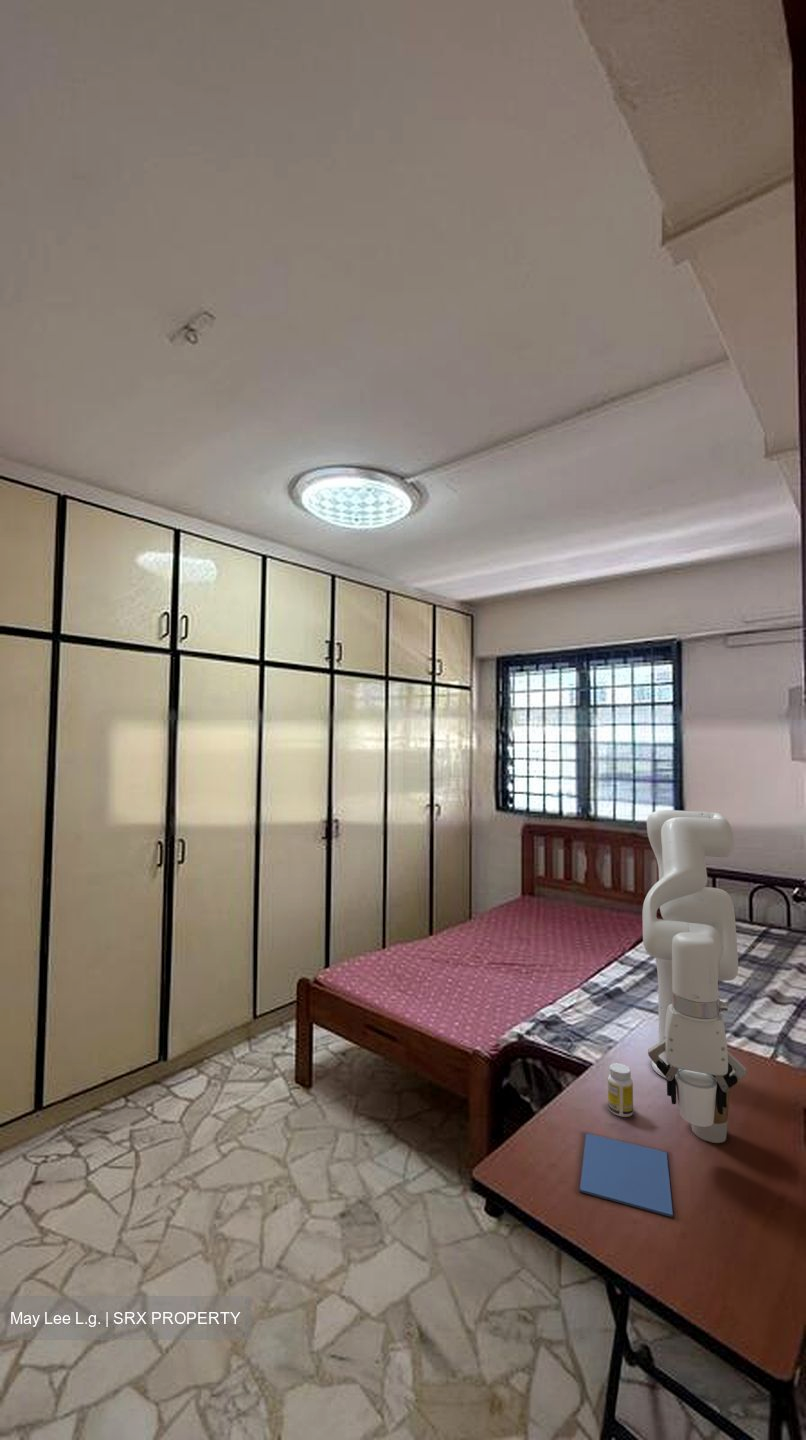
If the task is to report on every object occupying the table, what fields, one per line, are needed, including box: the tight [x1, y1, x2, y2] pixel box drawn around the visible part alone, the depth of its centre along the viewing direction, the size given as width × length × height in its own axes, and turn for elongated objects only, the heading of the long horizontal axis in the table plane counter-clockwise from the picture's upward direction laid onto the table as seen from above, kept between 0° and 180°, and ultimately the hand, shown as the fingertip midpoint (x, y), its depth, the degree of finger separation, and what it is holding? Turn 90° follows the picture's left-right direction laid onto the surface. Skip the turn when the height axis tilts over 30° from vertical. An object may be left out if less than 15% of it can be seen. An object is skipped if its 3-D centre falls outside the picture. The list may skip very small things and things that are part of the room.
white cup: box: [675, 1069, 717, 1127], centre depth 105 cm, size 7×7×7 cm
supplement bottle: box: [607, 1062, 634, 1118], centre depth 119 cm, size 5×5×8 cm
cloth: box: [579, 1132, 674, 1218], centre depth 101 cm, size 16×14×1 cm
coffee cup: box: [690, 1063, 733, 1144], centre depth 113 cm, size 8×8×15 cm
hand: (696, 1104), depth 105 cm, fingers closed on white cup, 6 cm apart
